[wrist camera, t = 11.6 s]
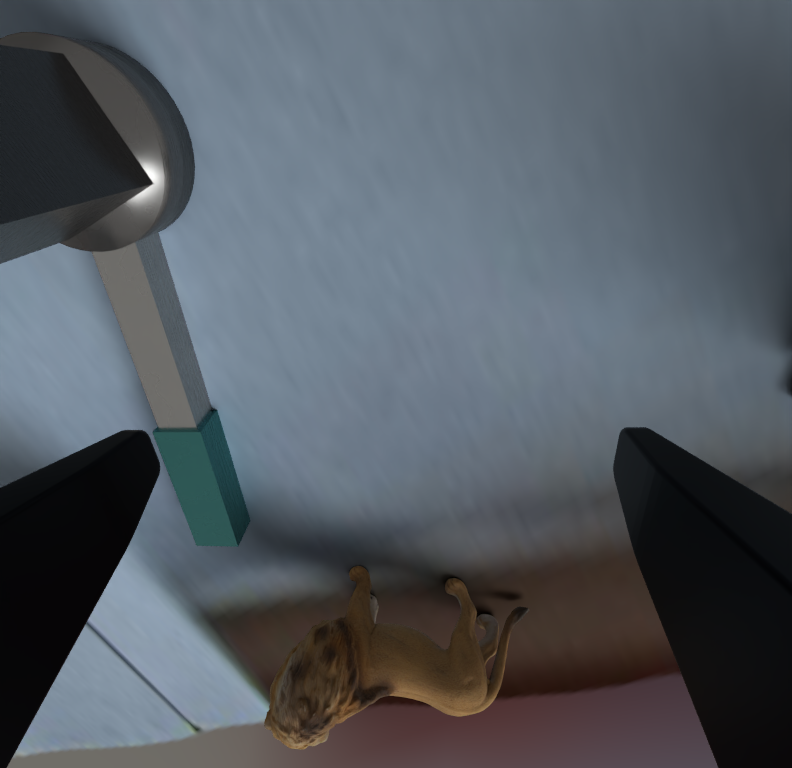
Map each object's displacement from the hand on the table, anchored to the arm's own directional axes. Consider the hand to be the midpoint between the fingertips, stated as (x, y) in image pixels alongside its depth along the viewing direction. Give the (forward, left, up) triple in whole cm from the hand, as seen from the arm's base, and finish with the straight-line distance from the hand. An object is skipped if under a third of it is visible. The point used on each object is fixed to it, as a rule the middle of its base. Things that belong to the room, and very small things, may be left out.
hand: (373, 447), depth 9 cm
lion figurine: (+2, +22, -13) cm, 26 cm away
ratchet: (+12, +3, -13) cm, 18 cm away
